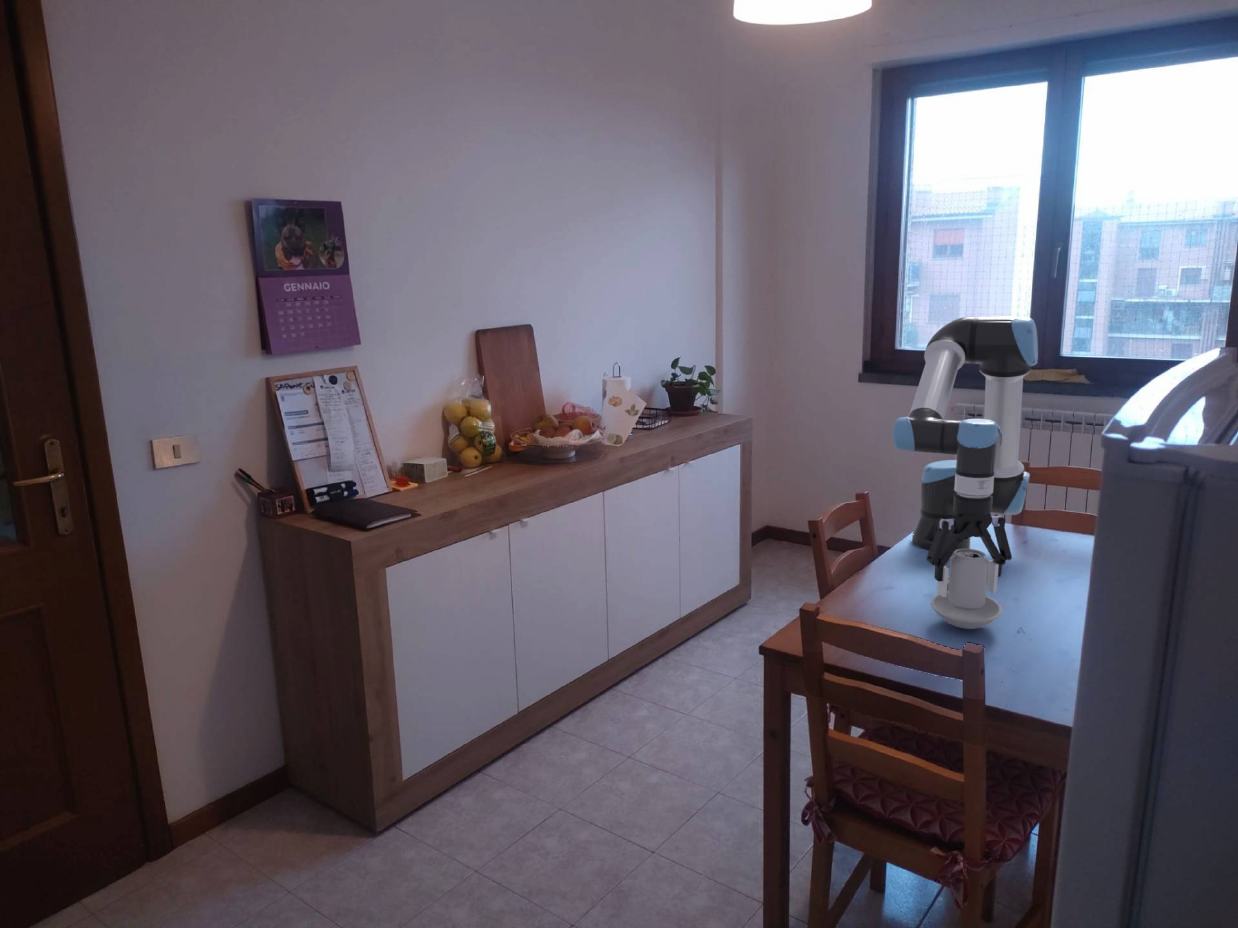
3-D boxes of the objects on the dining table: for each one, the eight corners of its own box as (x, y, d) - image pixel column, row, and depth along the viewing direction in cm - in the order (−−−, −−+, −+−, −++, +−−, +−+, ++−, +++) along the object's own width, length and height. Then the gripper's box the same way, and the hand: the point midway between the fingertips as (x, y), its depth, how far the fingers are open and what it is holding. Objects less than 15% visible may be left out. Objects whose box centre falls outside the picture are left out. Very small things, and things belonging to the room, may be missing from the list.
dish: (1003, 647, 176) (1005, 624, 175) (929, 639, 181) (930, 617, 180) (998, 614, 192) (999, 593, 191) (929, 607, 197) (931, 587, 196)
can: (988, 612, 181) (991, 558, 178) (950, 611, 182) (953, 557, 179) (981, 599, 188) (984, 547, 185) (944, 597, 189) (947, 546, 187)
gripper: (928, 501, 174) (923, 603, 179) (1035, 495, 177) (1027, 595, 182) (912, 492, 182) (907, 590, 187) (1015, 485, 184) (1007, 582, 189)
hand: (966, 592), depth 184 cm, fingers open, 10 cm apart
